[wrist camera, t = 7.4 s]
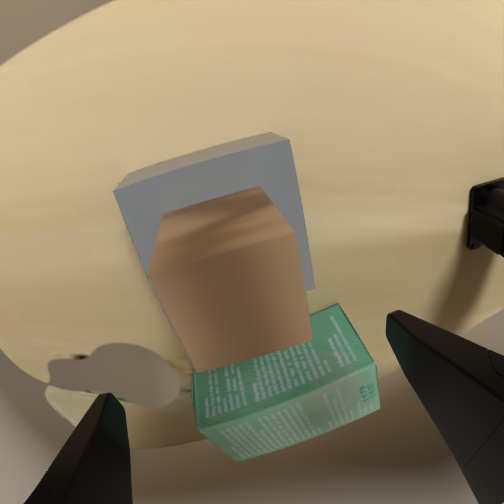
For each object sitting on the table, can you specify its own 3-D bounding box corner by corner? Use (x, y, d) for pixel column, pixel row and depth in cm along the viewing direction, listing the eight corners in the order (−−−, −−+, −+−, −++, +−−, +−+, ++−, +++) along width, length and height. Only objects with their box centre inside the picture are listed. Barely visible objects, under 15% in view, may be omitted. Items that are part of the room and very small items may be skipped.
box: (187, 361, 25) (192, 435, 19) (336, 298, 25) (379, 361, 19) (224, 403, 29) (235, 467, 22) (351, 351, 29) (384, 408, 22)
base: (270, 132, 18) (289, 139, 15) (296, 257, 22) (315, 288, 19) (128, 173, 18) (112, 190, 14) (174, 292, 22) (172, 329, 18)
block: (259, 185, 16) (295, 232, 10) (278, 269, 18) (313, 340, 13) (162, 213, 15) (148, 275, 10) (193, 293, 18) (197, 372, 12)
